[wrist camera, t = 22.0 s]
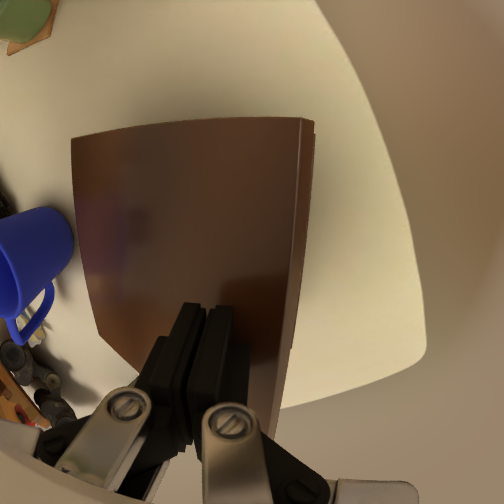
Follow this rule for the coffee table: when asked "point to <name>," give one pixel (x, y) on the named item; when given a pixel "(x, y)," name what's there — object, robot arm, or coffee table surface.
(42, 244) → the mug
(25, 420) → the figurine
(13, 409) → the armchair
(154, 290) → the chest lid
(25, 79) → the coffee table surface
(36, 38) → the coaster
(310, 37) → the coffee table surface
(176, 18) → the coffee table surface
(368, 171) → the coffee table surface
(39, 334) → the dinosaur figurine
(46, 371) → the binoculars
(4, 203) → the toy train
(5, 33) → the pot
